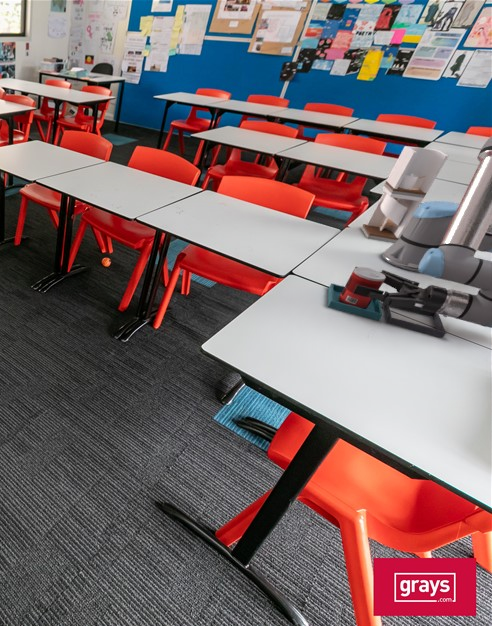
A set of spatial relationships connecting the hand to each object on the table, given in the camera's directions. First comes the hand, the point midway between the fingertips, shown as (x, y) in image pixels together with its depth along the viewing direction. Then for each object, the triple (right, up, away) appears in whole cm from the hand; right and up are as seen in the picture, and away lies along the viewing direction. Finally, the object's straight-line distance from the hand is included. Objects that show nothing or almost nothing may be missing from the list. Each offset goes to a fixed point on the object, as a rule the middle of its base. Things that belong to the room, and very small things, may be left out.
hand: (354, 279), depth 130 cm
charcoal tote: (+15, -12, -3) cm, 20 cm away
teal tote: (+2, -8, +3) cm, 9 cm away
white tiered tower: (+51, +23, +51) cm, 76 cm away
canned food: (+2, -7, +3) cm, 8 cm away
